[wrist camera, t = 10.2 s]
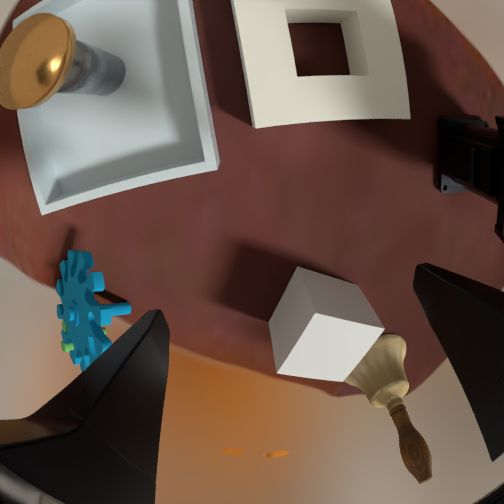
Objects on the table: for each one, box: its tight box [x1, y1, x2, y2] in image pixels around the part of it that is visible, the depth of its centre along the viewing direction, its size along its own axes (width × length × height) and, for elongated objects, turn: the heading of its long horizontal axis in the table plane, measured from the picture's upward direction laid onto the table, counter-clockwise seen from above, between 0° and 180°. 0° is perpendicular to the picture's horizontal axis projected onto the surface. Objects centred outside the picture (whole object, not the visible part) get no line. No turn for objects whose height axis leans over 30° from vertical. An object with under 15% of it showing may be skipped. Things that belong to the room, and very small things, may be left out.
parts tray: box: [13, 0, 220, 215], centre depth 14 cm, size 13×16×3 cm
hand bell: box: [344, 334, 432, 484], centre depth 22 cm, size 8×8×16 cm
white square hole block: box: [231, 0, 410, 128], centre depth 14 cm, size 10×10×3 cm
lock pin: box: [0, 13, 126, 110], centre depth 11 cm, size 4×4×9 cm
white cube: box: [269, 266, 385, 382], centre depth 22 cm, size 6×6×6 cm
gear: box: [56, 250, 131, 372], centre depth 21 cm, size 11×6×10 cm
